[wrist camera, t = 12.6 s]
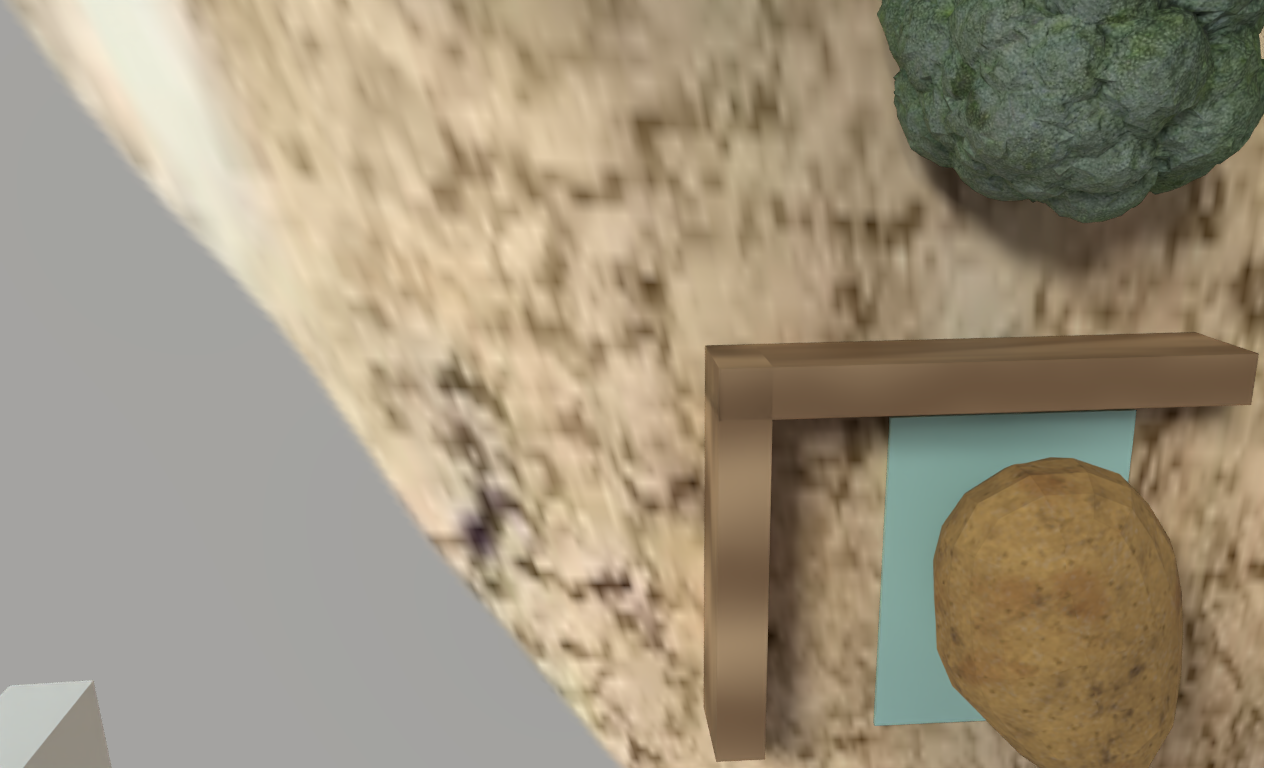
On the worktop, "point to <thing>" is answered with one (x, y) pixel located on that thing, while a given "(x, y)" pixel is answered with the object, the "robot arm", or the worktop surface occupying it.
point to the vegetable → (1077, 94)
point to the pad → (919, 505)
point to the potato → (1062, 614)
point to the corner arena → (892, 386)
